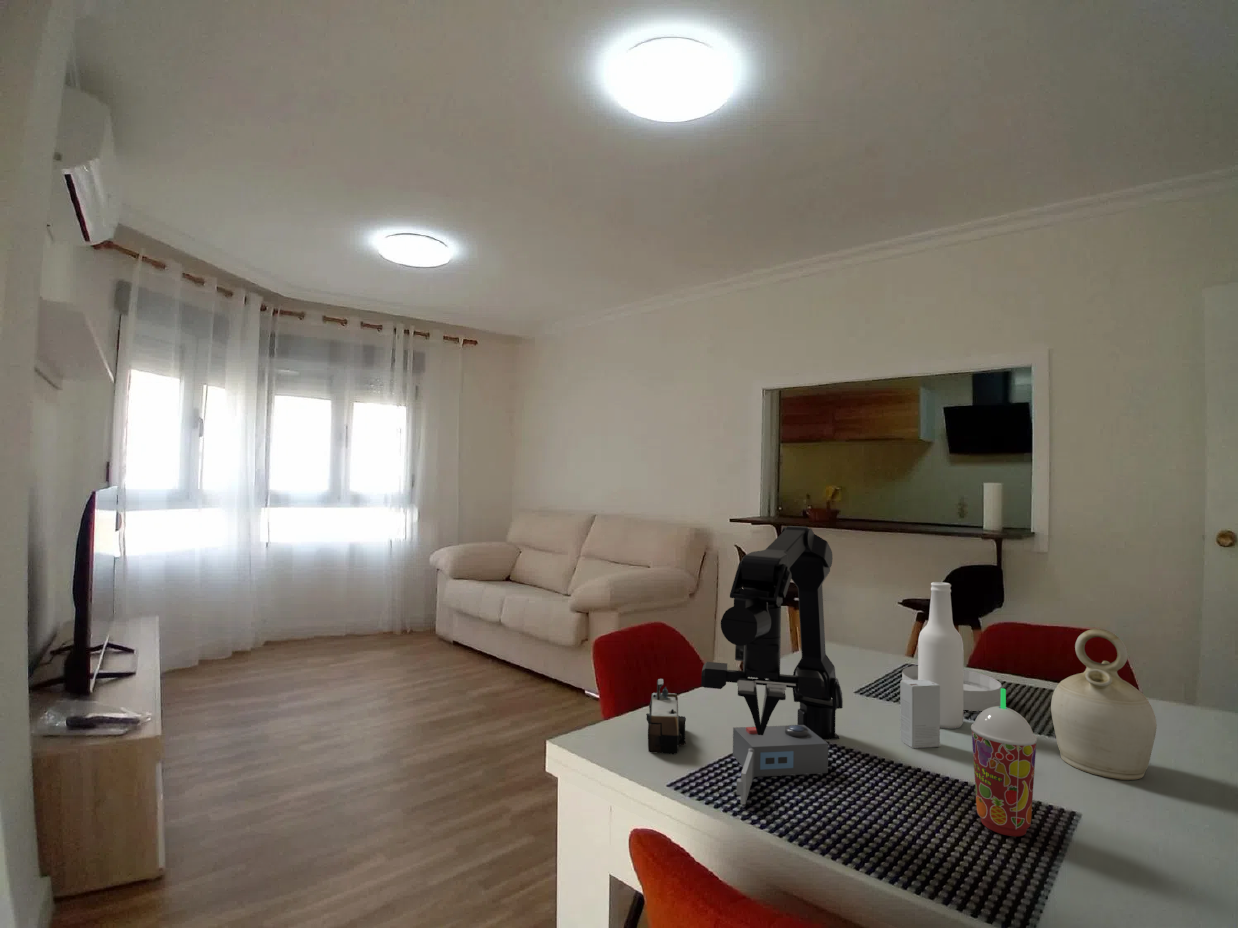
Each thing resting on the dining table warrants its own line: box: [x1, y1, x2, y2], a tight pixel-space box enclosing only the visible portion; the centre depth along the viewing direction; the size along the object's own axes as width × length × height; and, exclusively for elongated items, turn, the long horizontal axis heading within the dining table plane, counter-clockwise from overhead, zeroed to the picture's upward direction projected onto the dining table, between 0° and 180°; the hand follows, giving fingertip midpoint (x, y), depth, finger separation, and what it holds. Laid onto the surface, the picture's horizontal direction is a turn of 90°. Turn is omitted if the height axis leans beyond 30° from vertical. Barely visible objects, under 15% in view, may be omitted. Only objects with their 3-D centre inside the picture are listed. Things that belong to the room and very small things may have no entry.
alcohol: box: [917, 581, 965, 730], centre depth 137 cm, size 9×9×30 cm
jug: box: [1050, 628, 1158, 781], centre depth 116 cm, size 15×16×25 cm
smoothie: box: [970, 688, 1038, 837], centre depth 93 cm, size 8×8×20 cm
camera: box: [645, 678, 687, 755], centre depth 123 cm, size 15×8×10 cm, turn 173°
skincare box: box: [899, 679, 941, 749], centre depth 124 cm, size 6×4×12 cm
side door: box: [735, 748, 755, 805], centre depth 102 cm, size 10×2×5 cm, turn 161°
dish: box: [901, 665, 1003, 711], centre depth 155 cm, size 22×22×5 cm
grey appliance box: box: [732, 724, 829, 778], centre depth 112 cm, size 14×9×6 cm, turn 100°
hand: (760, 734), depth 100 cm, fingers closed
